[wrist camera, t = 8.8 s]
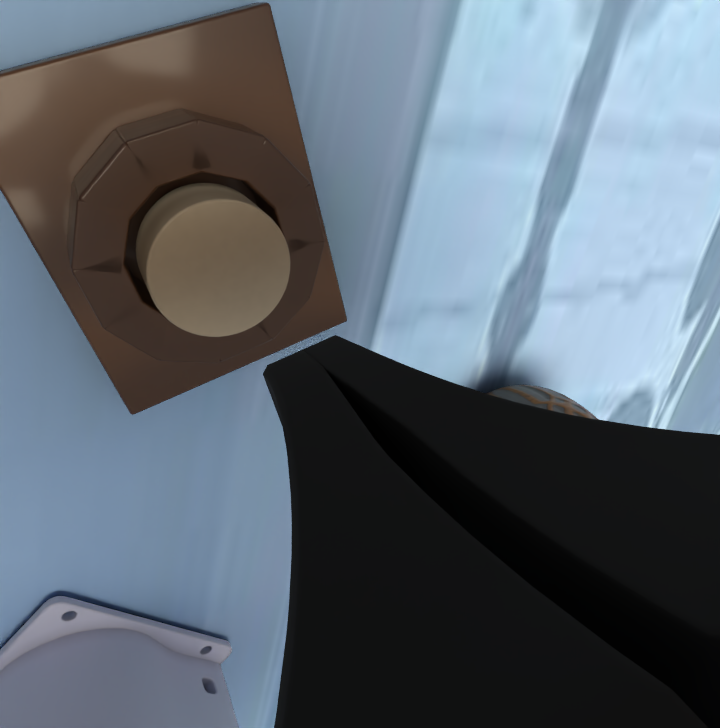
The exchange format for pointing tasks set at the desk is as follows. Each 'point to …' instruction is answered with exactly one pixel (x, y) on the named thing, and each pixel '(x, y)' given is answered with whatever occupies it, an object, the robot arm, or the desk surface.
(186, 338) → the control block
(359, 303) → the desk surface
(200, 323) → the button
